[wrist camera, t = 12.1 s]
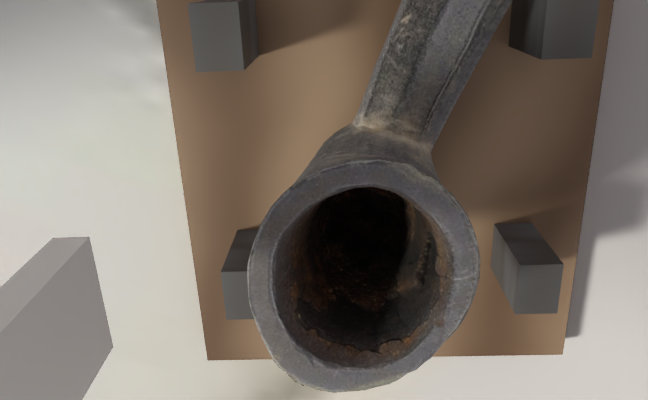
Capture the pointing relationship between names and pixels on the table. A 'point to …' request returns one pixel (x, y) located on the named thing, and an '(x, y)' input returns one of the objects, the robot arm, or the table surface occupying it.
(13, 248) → the table surface
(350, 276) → the pipe
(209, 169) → the collar cradle
